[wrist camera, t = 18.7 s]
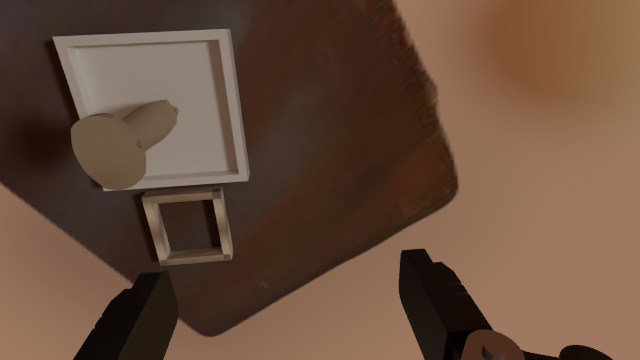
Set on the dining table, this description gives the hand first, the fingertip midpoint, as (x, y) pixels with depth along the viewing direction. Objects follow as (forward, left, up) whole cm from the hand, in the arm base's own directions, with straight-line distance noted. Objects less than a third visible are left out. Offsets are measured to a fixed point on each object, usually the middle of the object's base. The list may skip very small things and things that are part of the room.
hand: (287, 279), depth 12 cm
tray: (+1, -15, -34) cm, 37 cm away
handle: (+1, -15, -34) cm, 37 cm away
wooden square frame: (+17, -15, -34) cm, 41 cm away
